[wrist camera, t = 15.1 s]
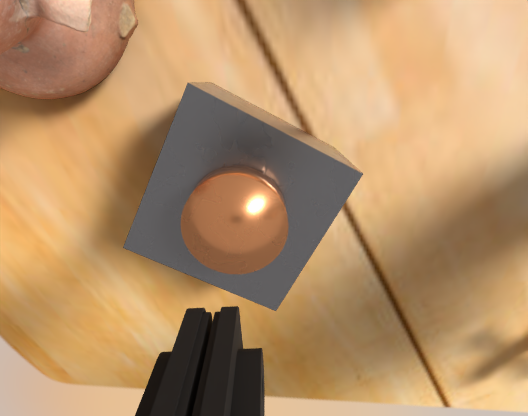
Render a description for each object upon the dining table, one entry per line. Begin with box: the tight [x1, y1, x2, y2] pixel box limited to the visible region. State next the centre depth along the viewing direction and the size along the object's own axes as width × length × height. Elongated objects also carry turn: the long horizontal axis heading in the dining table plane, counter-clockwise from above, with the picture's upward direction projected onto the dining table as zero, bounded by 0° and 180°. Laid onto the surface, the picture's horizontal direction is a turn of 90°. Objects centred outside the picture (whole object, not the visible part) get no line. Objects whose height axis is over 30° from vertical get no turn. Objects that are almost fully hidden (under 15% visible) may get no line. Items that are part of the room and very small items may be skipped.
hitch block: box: [123, 83, 363, 311], centre depth 26 cm, size 12×12×9 cm
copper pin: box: [181, 166, 288, 274], centre depth 24 cm, size 6×6×10 cm
